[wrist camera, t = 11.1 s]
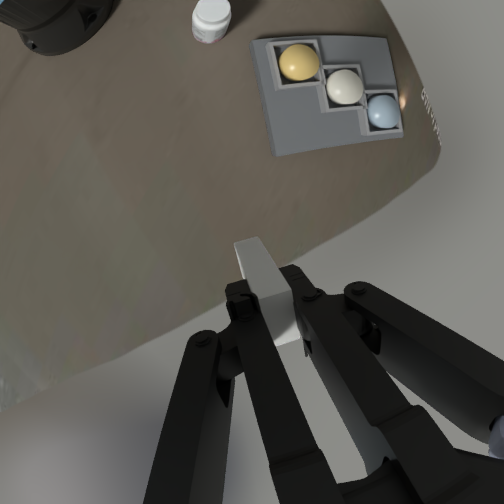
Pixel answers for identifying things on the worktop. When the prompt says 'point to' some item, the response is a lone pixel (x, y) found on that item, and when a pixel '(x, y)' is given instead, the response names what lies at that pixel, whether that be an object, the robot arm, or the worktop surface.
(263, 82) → the panel
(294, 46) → the ochre button
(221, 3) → the pill bottle
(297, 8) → the worktop surface
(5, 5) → the robot arm
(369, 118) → the slate button
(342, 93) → the ivory button
